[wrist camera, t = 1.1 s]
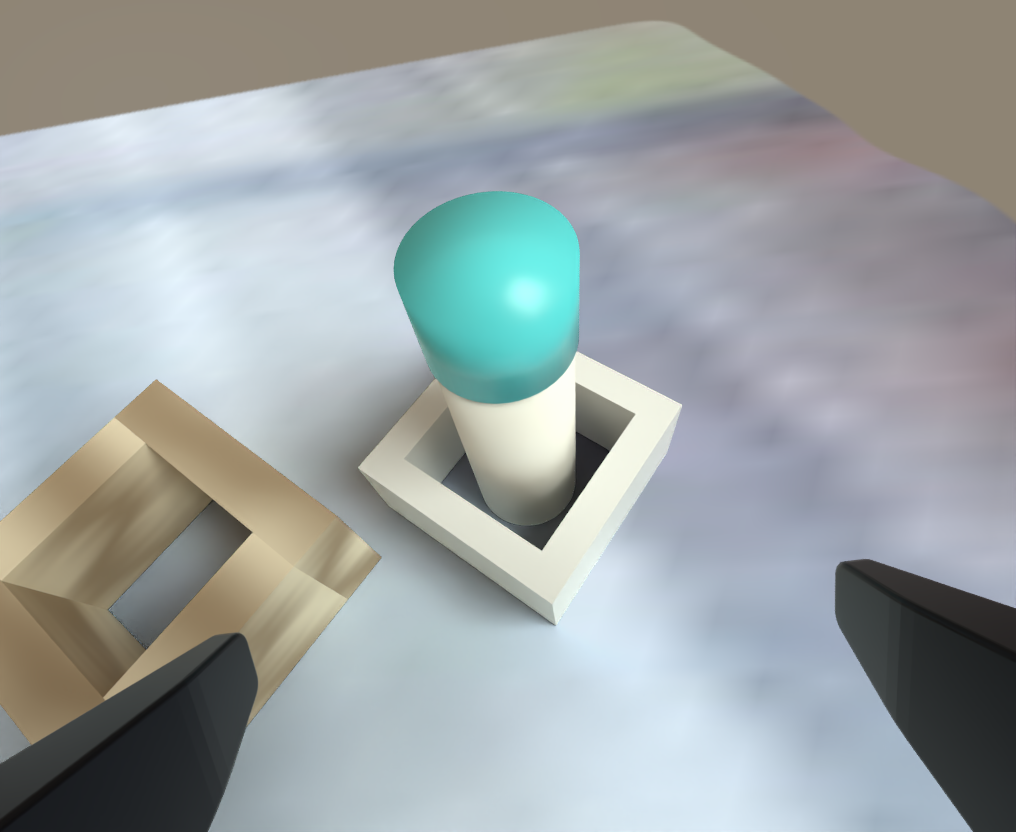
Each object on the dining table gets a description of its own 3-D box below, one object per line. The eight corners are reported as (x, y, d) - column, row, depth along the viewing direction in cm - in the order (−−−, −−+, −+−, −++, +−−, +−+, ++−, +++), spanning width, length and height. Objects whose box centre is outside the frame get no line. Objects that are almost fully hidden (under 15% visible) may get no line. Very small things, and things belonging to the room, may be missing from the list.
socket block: (191, 796, 20) (83, 812, 16) (39, 622, 24) (-83, 596, 19) (381, 557, 23) (337, 516, 19) (224, 437, 27) (156, 379, 23)
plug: (585, 521, 23) (593, 316, 12) (481, 534, 23) (393, 344, 12) (570, 429, 25) (565, 179, 14) (474, 441, 25) (394, 205, 14)
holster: (556, 625, 21) (551, 603, 18) (388, 506, 24) (357, 467, 21) (667, 452, 24) (682, 404, 21) (505, 364, 27) (494, 309, 24)
